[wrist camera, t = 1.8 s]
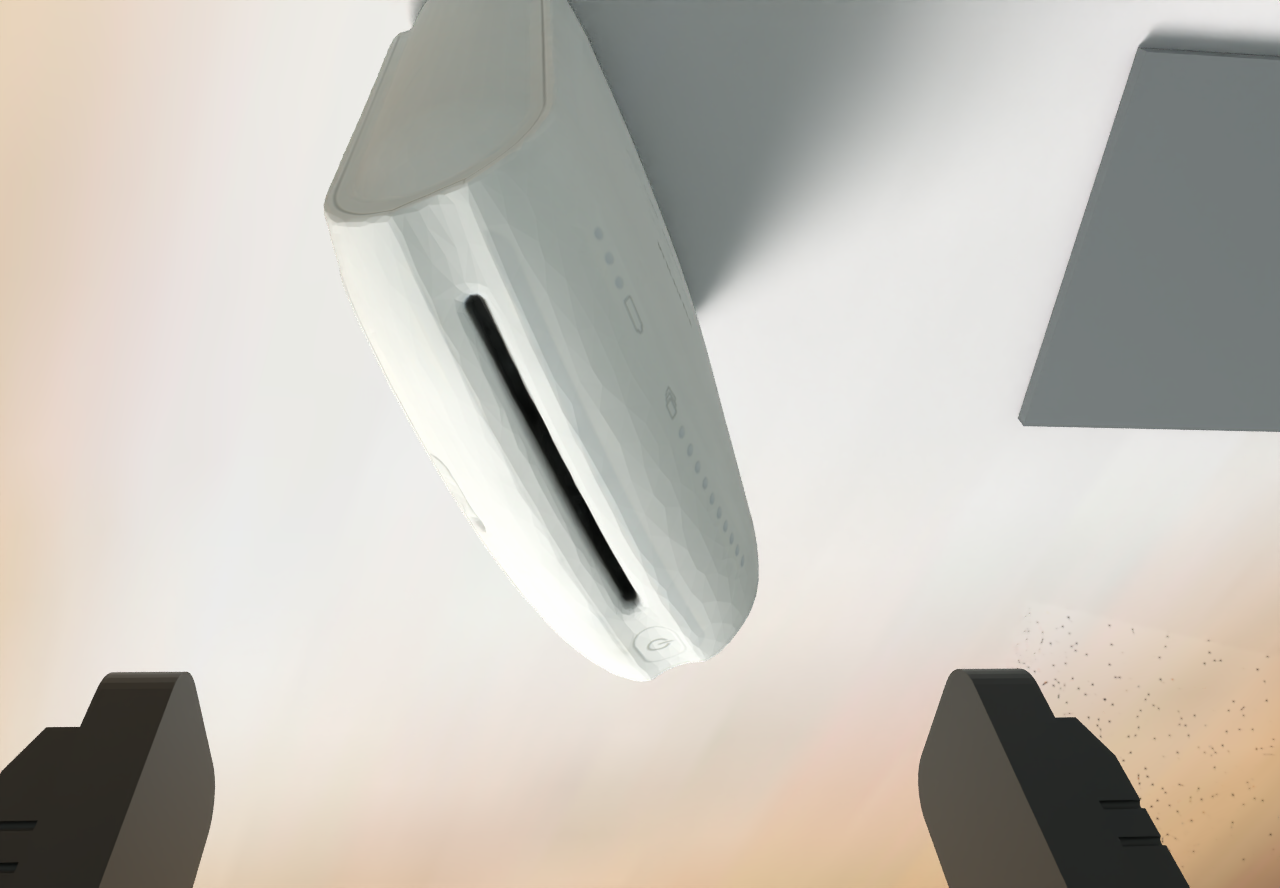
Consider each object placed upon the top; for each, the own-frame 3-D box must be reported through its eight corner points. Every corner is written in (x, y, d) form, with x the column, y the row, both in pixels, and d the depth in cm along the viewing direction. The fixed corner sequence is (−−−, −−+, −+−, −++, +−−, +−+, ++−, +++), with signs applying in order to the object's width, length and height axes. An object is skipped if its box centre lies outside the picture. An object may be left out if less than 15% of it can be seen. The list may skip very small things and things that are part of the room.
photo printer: (715, 335, 27) (818, 695, 17) (562, 392, 28) (575, 772, 18) (556, -71, 22) (570, 104, 12) (370, 11, 22) (226, 246, 12)
